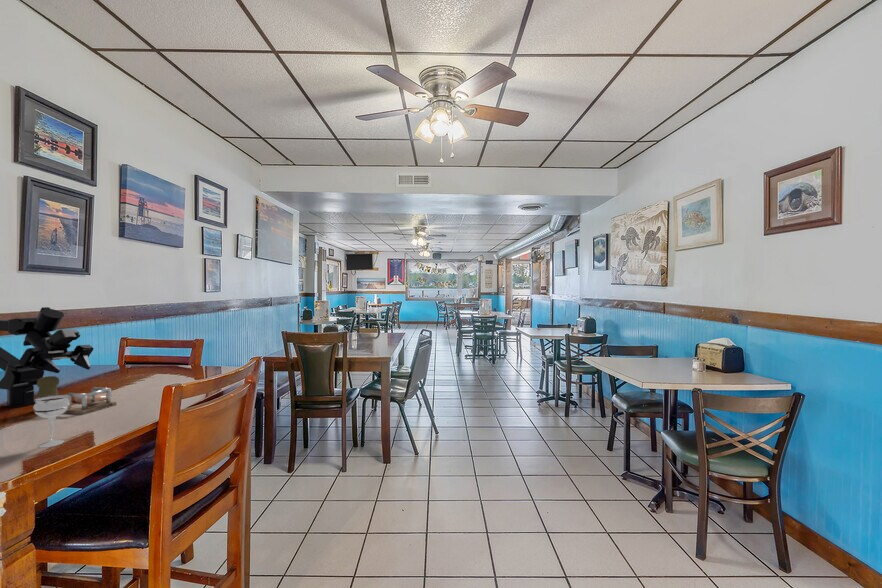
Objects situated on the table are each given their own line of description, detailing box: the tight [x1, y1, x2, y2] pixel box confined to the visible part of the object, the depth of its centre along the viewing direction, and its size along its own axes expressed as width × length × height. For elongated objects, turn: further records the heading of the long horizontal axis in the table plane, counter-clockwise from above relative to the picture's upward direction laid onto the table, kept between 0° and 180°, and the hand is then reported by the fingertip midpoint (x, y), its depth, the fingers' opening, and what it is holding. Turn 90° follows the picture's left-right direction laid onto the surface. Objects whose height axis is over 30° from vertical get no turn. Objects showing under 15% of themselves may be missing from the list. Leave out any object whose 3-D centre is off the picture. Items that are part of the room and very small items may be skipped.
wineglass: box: [32, 394, 70, 449], centre depth 101 cm, size 7×7×12 cm
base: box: [63, 400, 117, 415], centre depth 130 cm, size 9×11×1 cm
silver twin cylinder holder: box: [66, 386, 112, 410], centre depth 130 cm, size 7×9×5 cm
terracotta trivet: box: [74, 393, 112, 404], centre depth 142 cm, size 10×10×1 cm
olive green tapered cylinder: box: [36, 375, 60, 398], centre depth 128 cm, size 6×6×11 cm
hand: (74, 370), depth 128 cm, fingers open, 9 cm apart
